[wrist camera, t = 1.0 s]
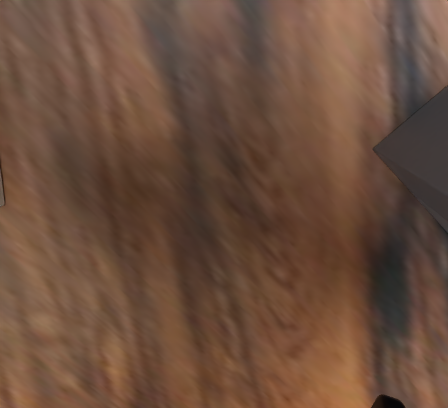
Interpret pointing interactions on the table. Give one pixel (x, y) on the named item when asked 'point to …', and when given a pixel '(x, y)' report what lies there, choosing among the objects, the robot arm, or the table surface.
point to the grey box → (422, 155)
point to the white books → (1, 192)
